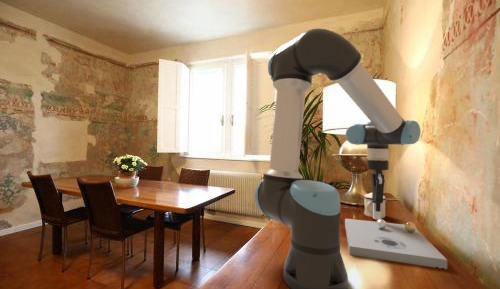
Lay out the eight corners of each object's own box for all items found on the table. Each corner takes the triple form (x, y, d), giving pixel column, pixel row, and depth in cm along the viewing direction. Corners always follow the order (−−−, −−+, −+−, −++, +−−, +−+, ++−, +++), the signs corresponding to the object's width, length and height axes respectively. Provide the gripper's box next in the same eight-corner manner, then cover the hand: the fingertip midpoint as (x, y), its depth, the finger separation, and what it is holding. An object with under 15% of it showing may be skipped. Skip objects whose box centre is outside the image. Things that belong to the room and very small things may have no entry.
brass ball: (417, 234, 79) (417, 224, 79) (406, 233, 80) (406, 223, 80) (414, 230, 82) (414, 221, 82) (403, 229, 84) (403, 220, 84)
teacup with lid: (368, 211, 115) (369, 188, 115) (389, 216, 108) (389, 191, 108) (357, 216, 107) (357, 191, 107) (377, 221, 100) (378, 194, 100)
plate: (447, 269, 61) (447, 259, 61) (349, 254, 70) (349, 246, 70) (412, 232, 88) (412, 225, 88) (344, 224, 96) (344, 218, 96)
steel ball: (387, 230, 82) (387, 221, 82) (377, 229, 83) (377, 220, 83) (385, 227, 85) (385, 218, 85) (375, 226, 87) (375, 217, 87)
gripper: (392, 160, 84) (392, 225, 84) (384, 158, 97) (384, 215, 97) (369, 160, 87) (369, 222, 87) (364, 158, 99) (364, 213, 99)
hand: (377, 218), depth 92 cm, fingers closed
